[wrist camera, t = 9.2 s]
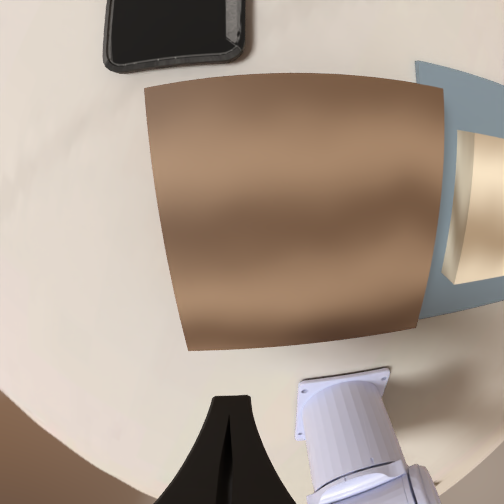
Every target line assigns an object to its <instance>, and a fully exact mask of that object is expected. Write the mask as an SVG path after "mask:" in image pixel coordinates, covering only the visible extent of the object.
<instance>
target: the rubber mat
mask: <svg viewBox="0 0 504 504" xmlns="http://www.w3.org/2000/svg"><path fill="white" fill-rule="evenodd" d="M415 68H416V81H417V83H418V84H423V85H429V86H434V87H439V88H443V92H444V163H443V179H442V191H441V201H440V210H439V218H438V225H437V232H436V239H435V245H434V251H433V256H432V262H431V267H430V272H429V277H428V281H427V286H426V290H425V295H424V299H423V303H422V307H421V311H420V315H419V318H418V319H423V318H428V317H433V316H438V315H443V314H448V313H453V312H457V311H462V310H466V309H470V308H475V307H479V306H483V305H487V304H491V303H495V302H499V301H503V300H504V276H500V277H494V278H489V279H484V280H478V281H473V282H467V283H461V284H455V285H454V284H453V283H452V282H451V281H450V280H449V279H448V278H447V277H445V276H444V275H443V274H442V273H441V271H442V266H443V261H444V256H445V251H446V246H447V240H448V234H449V228H450V221H451V214H452V206H453V197H454V187H455V175H456V159H457V130H461V131H467V132H473V133H478V134H483V135H488V136H493V137H498V138H502V139H504V85H501V84H498V83H496V82H493V81H490V80H487V79H484V78H481V77H478V76H475V75H472V74H469V73H465V72H462V71H459V70H455V69H451V68H448V67H444V66H440V65H436V64H432V63H427V62H423V61H415Z"/></svg>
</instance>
